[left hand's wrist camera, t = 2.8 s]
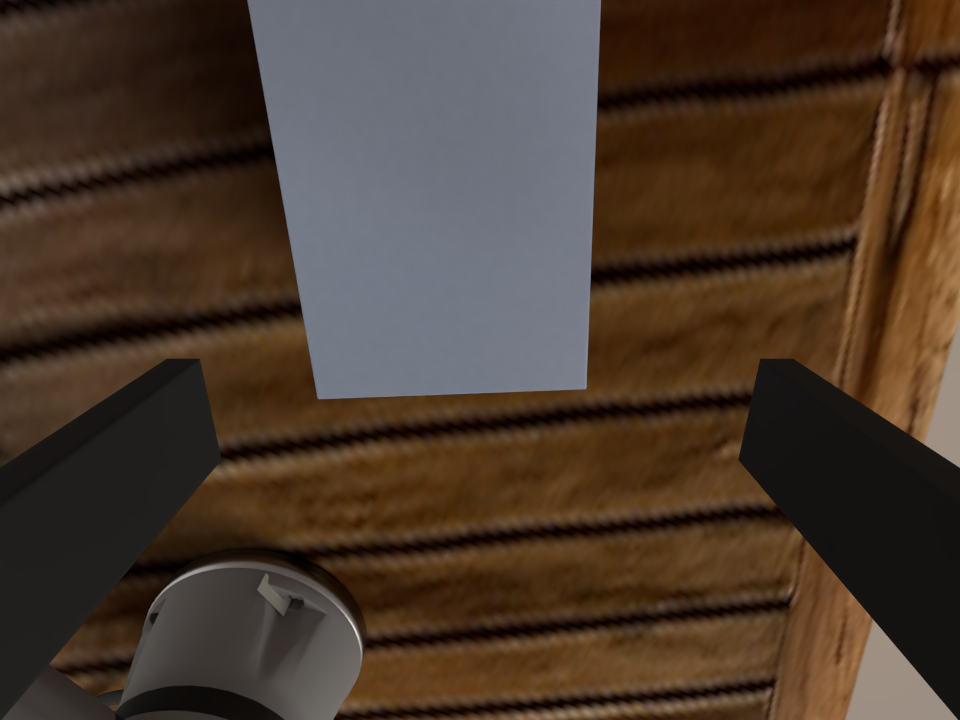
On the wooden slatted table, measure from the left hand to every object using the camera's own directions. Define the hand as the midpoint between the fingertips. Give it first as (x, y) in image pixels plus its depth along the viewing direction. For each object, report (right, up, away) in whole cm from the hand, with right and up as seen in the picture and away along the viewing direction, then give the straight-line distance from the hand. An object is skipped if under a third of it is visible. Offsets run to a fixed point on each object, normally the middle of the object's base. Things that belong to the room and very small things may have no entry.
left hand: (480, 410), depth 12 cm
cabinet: (-2, +12, +14) cm, 18 cm away
